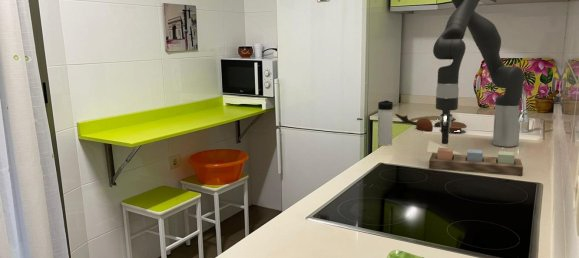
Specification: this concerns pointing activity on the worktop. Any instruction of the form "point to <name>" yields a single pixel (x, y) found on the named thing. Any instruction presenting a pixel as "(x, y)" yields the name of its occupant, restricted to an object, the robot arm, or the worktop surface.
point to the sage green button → (506, 157)
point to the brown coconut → (457, 126)
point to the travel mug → (385, 123)
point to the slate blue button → (474, 155)
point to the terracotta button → (445, 153)
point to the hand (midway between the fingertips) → (444, 143)
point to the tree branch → (406, 120)
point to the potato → (424, 125)
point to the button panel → (476, 165)
